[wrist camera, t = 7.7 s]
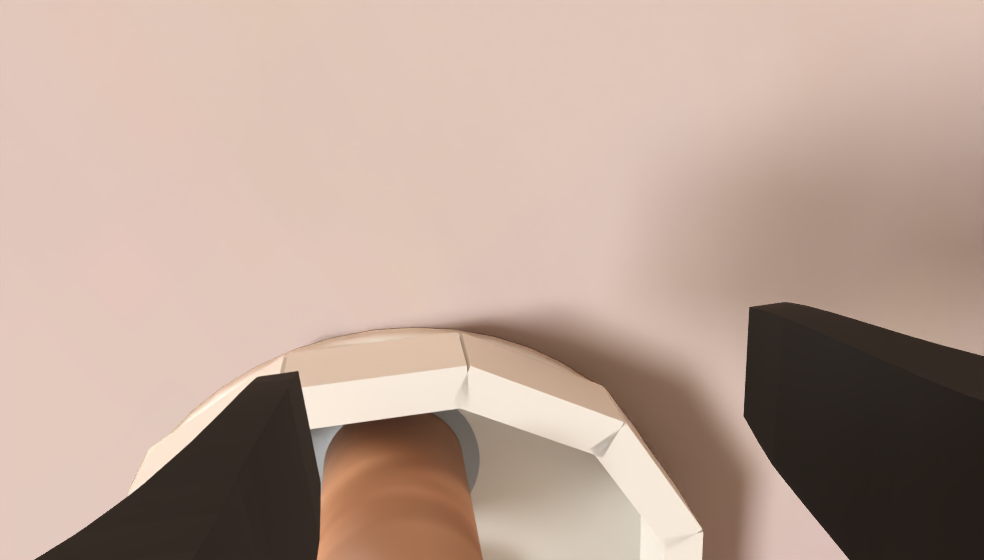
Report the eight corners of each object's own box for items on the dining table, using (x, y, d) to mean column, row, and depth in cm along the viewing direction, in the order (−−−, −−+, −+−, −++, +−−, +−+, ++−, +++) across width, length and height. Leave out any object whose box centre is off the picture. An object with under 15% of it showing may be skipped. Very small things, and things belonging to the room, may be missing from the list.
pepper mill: (456, 396, 21) (480, 514, 17) (468, 509, 23) (493, 646, 18) (313, 416, 21) (297, 542, 16) (335, 530, 22) (325, 676, 18)
